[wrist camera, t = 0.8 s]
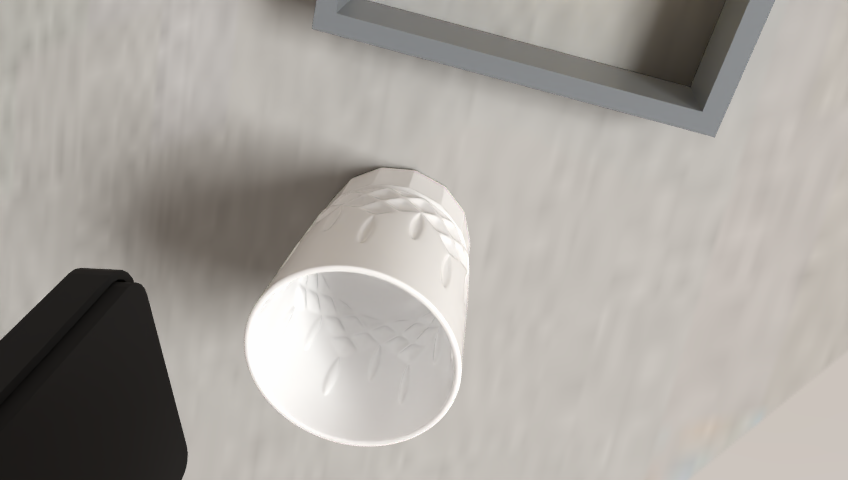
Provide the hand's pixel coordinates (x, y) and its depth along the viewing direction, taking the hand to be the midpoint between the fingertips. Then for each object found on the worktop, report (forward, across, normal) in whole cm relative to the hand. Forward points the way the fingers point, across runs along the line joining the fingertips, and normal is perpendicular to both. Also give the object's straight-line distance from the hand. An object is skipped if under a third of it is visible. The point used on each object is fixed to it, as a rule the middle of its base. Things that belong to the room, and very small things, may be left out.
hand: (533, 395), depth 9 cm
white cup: (+25, +7, +12) cm, 29 cm away
